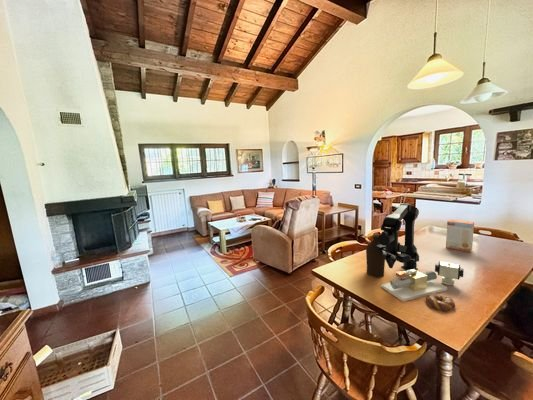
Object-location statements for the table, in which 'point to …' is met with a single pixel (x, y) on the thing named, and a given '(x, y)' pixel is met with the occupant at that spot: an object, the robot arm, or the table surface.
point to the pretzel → (440, 302)
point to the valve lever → (405, 273)
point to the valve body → (414, 280)
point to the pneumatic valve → (449, 272)
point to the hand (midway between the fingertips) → (390, 268)
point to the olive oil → (374, 259)
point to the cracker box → (459, 235)
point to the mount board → (409, 294)
